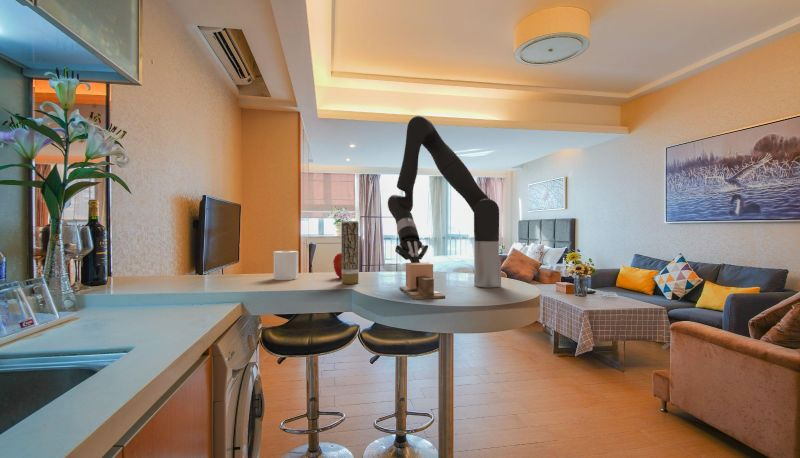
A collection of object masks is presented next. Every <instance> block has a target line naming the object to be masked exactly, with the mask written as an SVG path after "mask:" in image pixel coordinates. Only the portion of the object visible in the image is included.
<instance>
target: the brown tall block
mask: <svg viewBox="0 0 800 458" xmlns="http://www.w3.org/2000/svg"><path fill="white" fill-rule="evenodd" d="M359 245H360V244H359V221H356V220H354V221H353V220H349V221H348V220H342V221H341V253H342V278H341V283H342V284H343V285H354V284H358V283H359V281H360V280H359V269H360V268H359V260H360V259H359V258H360V257H359V253H360V252H359V247H360V246H359Z"/></svg>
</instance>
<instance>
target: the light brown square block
mask: <svg viewBox="0 0 800 458" xmlns="http://www.w3.org/2000/svg"><path fill="white" fill-rule="evenodd" d="M419 276H427V277H430V278H432V279H434V264H433V263H432V262H431V263H430V262H420V263H411V262H407V263H406V262H405V287H406V286H407V287H408V288H410V289H416V277H419Z"/></svg>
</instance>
